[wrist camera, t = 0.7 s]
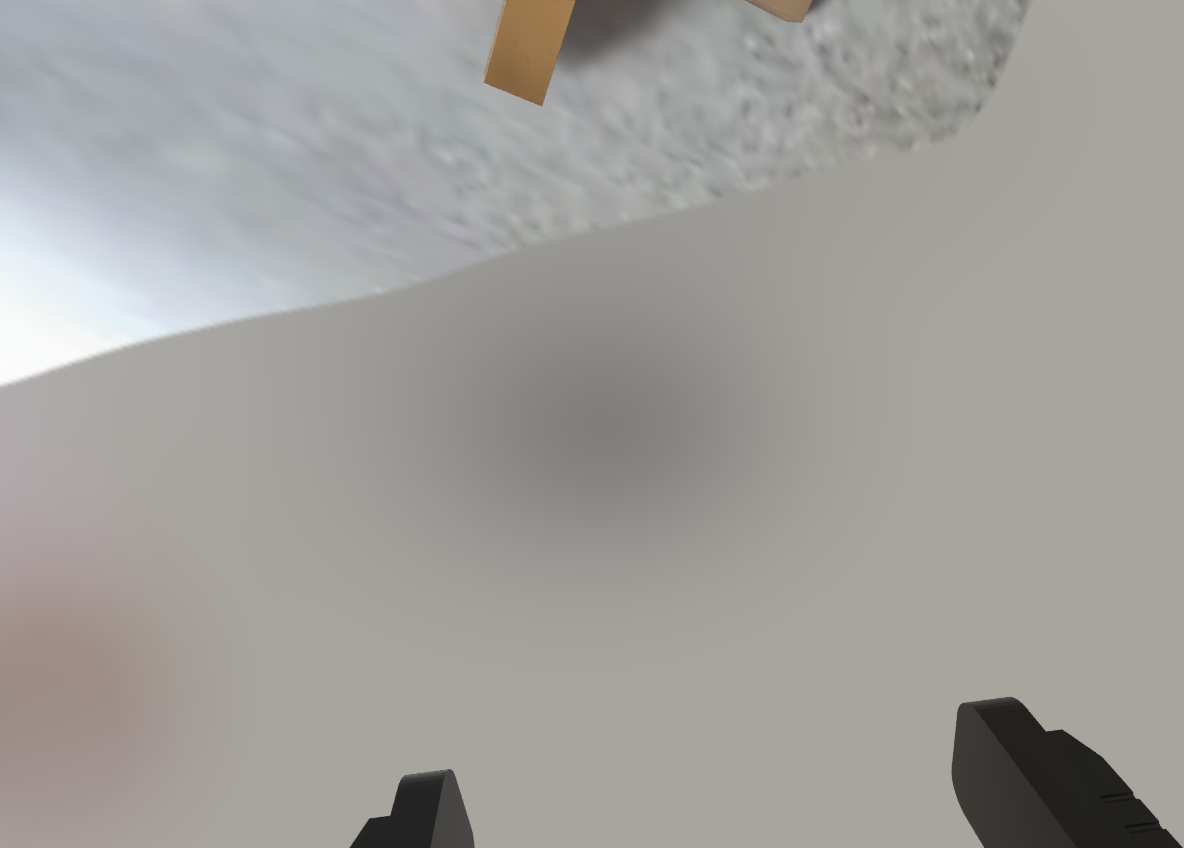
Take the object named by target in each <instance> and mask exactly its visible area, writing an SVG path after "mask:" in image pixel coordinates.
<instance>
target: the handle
mask: <svg viewBox="0 0 1184 848" xmlns="http://www.w3.org/2000/svg"><path fill="white" fill-rule="evenodd" d="M574 4H575V0H504V1H503V5H502V9H501V12H500V16H499V20H498V23H497V27H496V31H495V34H494V38H493V42H492V46H491V49H490V53H489V57H488V60H487V64H486V68H485V71H484V83H486V84H489V85H491V86H494V87H496V88H498V89H501V90H503V91H506V92H508V93H511V94H513V95H516V96H518V97H520V98H523V99H525V100H528V101H530V102H533V103H535V104H538V105H540V106H542V105H543V102H544V98H545V95H546V92H547V89H548V86H549V83H550V79H551V76H552V73H553V70H554V67H555V64H556V60H557V57H558V54H559V51H560V48H561V45H562V41H563V38H564V35H565V32H566V29H567V26H568V23H569V19H570V16H571V13H572V10H573V7H574Z"/></svg>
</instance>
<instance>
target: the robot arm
mask: <svg viewBox="0 0 1184 848" xmlns="http://www.w3.org/2000/svg"><path fill="white" fill-rule="evenodd" d="M952 781H953V785H954V790H955V793H956V796H957V799H958V802H959V804H960V806H961V808H962V811H963V813H964V815H965V816H966V818H967V820H968V821H969V823H970V825H971V826H972V828H973V829H974V831H975V833H976V835H977V836H978V838H979V840H980V841H981V843H982V845H983V846H984V848H1182V846H1181V845H1180V844H1179V843H1178V842H1177V841H1176V840H1175V839H1174V838H1173V837H1172V835H1171V834H1170V833H1169V832H1168V831H1167V830H1166V829H1162V828H1161V826H1160V824H1159V821H1158V820H1157V818H1156V817H1155V816H1154V815H1153V814H1152V813H1151V812H1150V810H1149V809H1148V808H1147V807H1146V806H1145V805H1144V804H1143V802H1142V801H1141V800H1140V799H1136V798H1135V797H1134V795H1133V791H1132V790H1131V789H1130V788H1129V787H1128V786H1127V785H1126V783H1125V782H1124V781H1123V780H1122V779H1121V778H1120V777H1119V775H1118V774H1117V773H1116V772H1115V771H1114V770H1113V769H1112V768H1111V766H1110V765H1109V764H1108V763H1107V762H1106V761H1105V760H1104V758H1103V757H1101V756H1100V755H1098V754H1097V753H1096V752H1094V751H1093V750H1091V749H1090V748H1088V747H1087V746H1085V745H1084V744H1082V743H1081V742H1080V741H1078V740H1077V739H1075V738H1074V737H1072V736H1071V735H1070V734H1068V733H1067V732H1065V731H1064V730H1055V731H1047V732H1046V731H1045V730H1044V729H1043V728H1042V726H1041V725H1040V724H1039V723H1038V721H1037V720H1036V719H1035V718H1034V717H1033V715H1032V714H1031V713H1030V712H1029V711H1028V709H1027V708H1026V707H1025V706H1024V705H1023V704H1022V703H1021V702H1020V701H1019V700H1017V699H1015V698H1013V697H1005V698H997V699H990V700H982V701H975V702H967V703H962V704H961V705H960V706H959V708H958V712H957V721H956V732H955V741H954V751H953V761H952ZM350 848H475V847H474V839H473V833H472V829H471V826H470V823H469V819H468V816H467V813H466V810H465V806H464V803H463V800H462V797H461V793H460V790H459V787H458V784H457V780H456V777H455V774H454V772H453V771H452V770H451V769H448V770H440V771H433V772H425V773H418V774H411V775H405V776H404V777H403V778H402V779H401V781H400V783H399V786H398V789H397V793H396V796H395V801H394V804H393V808H392V811H391V815H390V816H385V817H378V818H370V819H369V820H368V822H367V823H366V824H365V826H364V827H363V829H362V830H361V832H360V833H359V835H358V836H357V838H356V839H355V841H354V842H353V844H352V845H351V847H350Z"/></svg>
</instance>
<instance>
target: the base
mask: <svg viewBox="0 0 1184 848" xmlns="http://www.w3.org/2000/svg"><path fill="white" fill-rule="evenodd" d="M746 1H748V2H749V3H751V4H753V5H755V6H757V7H759V8H761V9H763V10H765V11H767V12H769V13H771V14H773V15H775V16H777V17H779V18H781V19H783V20H785V21H787V22H800V23H802V22H803V20H804V17H805V15H806V13H807V11H808V9H809V7H810V5H811V2H812V0H746Z"/></svg>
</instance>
